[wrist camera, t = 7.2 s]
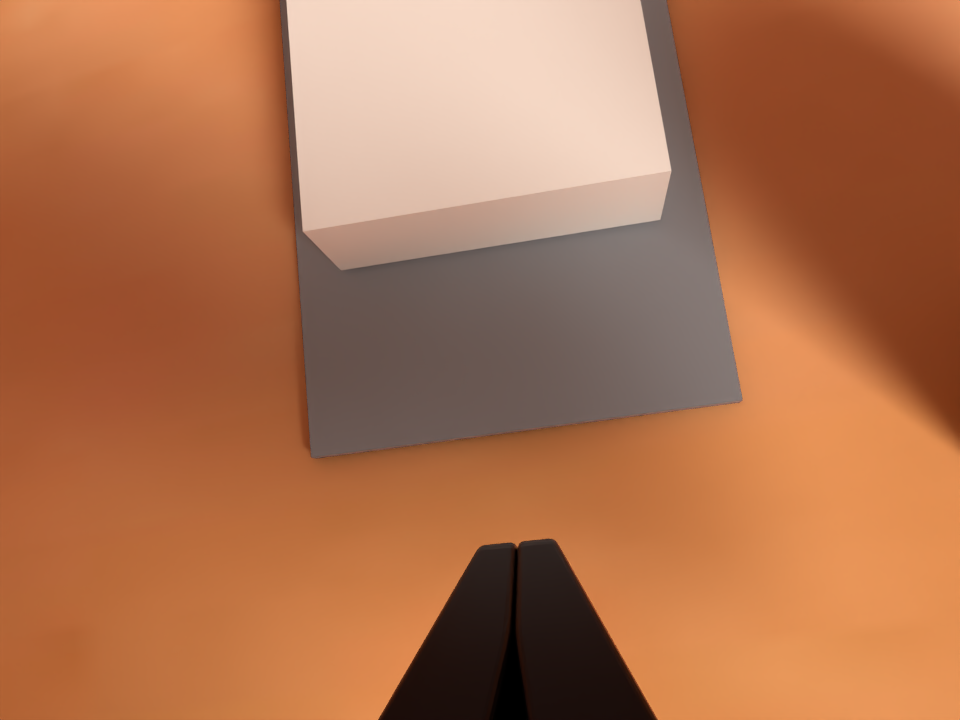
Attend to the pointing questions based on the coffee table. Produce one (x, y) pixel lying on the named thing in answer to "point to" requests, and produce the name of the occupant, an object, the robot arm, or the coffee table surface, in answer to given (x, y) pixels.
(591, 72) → the tile
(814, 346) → the coffee table surface
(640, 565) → the coffee table surface
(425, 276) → the mat
